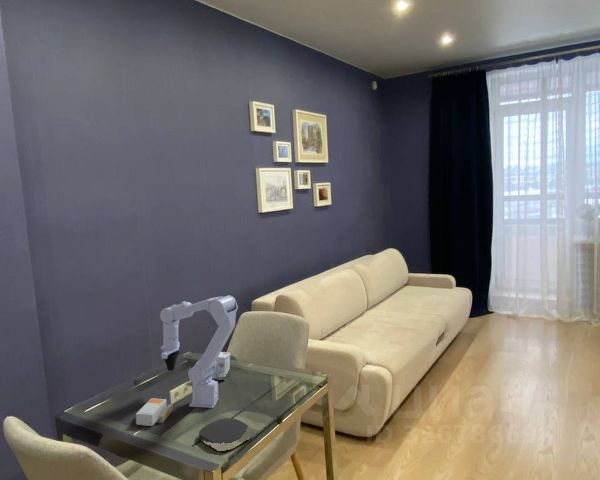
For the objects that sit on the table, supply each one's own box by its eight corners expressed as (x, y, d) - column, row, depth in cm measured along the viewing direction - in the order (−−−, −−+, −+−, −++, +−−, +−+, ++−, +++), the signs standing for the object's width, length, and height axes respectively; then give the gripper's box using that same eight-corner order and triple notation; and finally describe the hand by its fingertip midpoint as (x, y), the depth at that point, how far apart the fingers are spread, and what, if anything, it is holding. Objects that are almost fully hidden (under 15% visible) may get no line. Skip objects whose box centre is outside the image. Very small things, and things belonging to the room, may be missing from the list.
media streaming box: (256, 437, 146) (256, 429, 146) (222, 456, 136) (222, 446, 135) (228, 422, 156) (228, 413, 156) (194, 438, 145) (194, 429, 145)
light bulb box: (201, 379, 191) (201, 355, 190) (207, 373, 198) (207, 350, 197) (225, 381, 190) (225, 357, 188) (230, 375, 196) (230, 352, 195)
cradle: (172, 410, 163) (172, 404, 163) (162, 423, 154) (162, 416, 154) (146, 409, 164) (146, 402, 164) (135, 421, 155) (135, 414, 155)
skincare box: (166, 398, 163) (152, 414, 151) (166, 409, 163) (152, 426, 151) (151, 397, 163) (135, 413, 152) (151, 408, 164) (135, 425, 152)
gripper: (167, 330, 181) (168, 362, 182) (153, 342, 167) (153, 376, 168) (184, 331, 180) (184, 363, 182) (171, 343, 166) (171, 377, 167)
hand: (170, 369), depth 175 cm, fingers closed
